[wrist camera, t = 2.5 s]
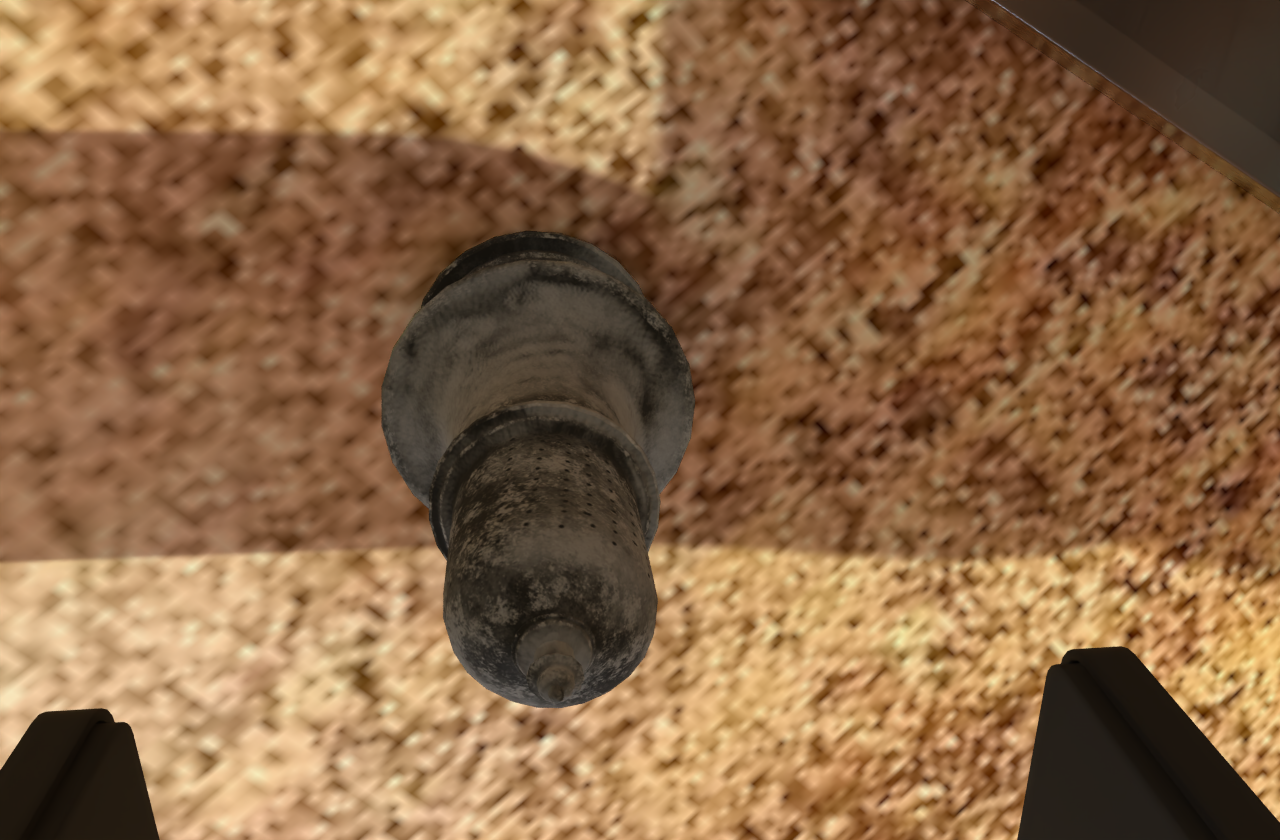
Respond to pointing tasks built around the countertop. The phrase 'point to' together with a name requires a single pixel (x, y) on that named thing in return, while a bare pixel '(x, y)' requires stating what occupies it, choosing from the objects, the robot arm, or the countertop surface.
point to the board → (1175, 71)
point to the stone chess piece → (541, 459)
